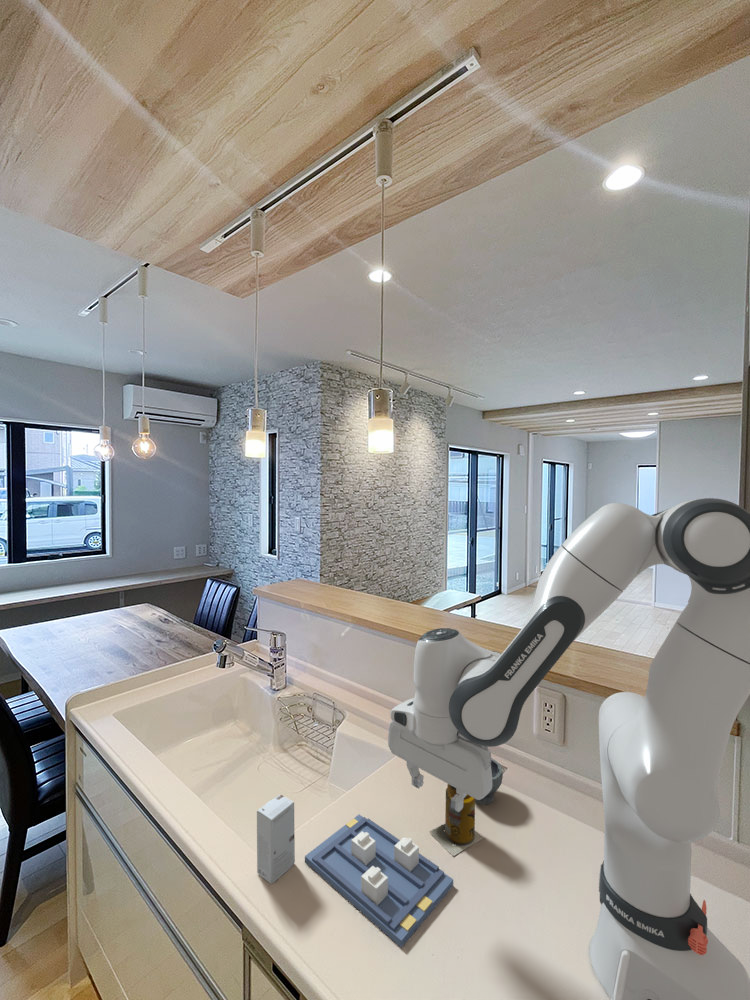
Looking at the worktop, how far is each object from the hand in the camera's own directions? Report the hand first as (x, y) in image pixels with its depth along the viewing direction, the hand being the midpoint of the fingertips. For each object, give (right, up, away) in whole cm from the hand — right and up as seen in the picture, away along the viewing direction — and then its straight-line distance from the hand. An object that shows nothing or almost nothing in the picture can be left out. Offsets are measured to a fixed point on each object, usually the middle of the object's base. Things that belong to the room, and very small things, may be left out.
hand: (436, 796), depth 81 cm
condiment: (+6, -17, +13) cm, 23 cm away
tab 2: (-11, -16, -1) cm, 20 cm away
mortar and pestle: (+13, -17, +26) cm, 33 cm away
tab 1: (-13, -16, +7) cm, 22 cm away
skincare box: (-30, -17, +5) cm, 35 cm away
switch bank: (-11, -17, +4) cm, 21 cm away
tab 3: (-5, -16, +5) cm, 17 cm away
